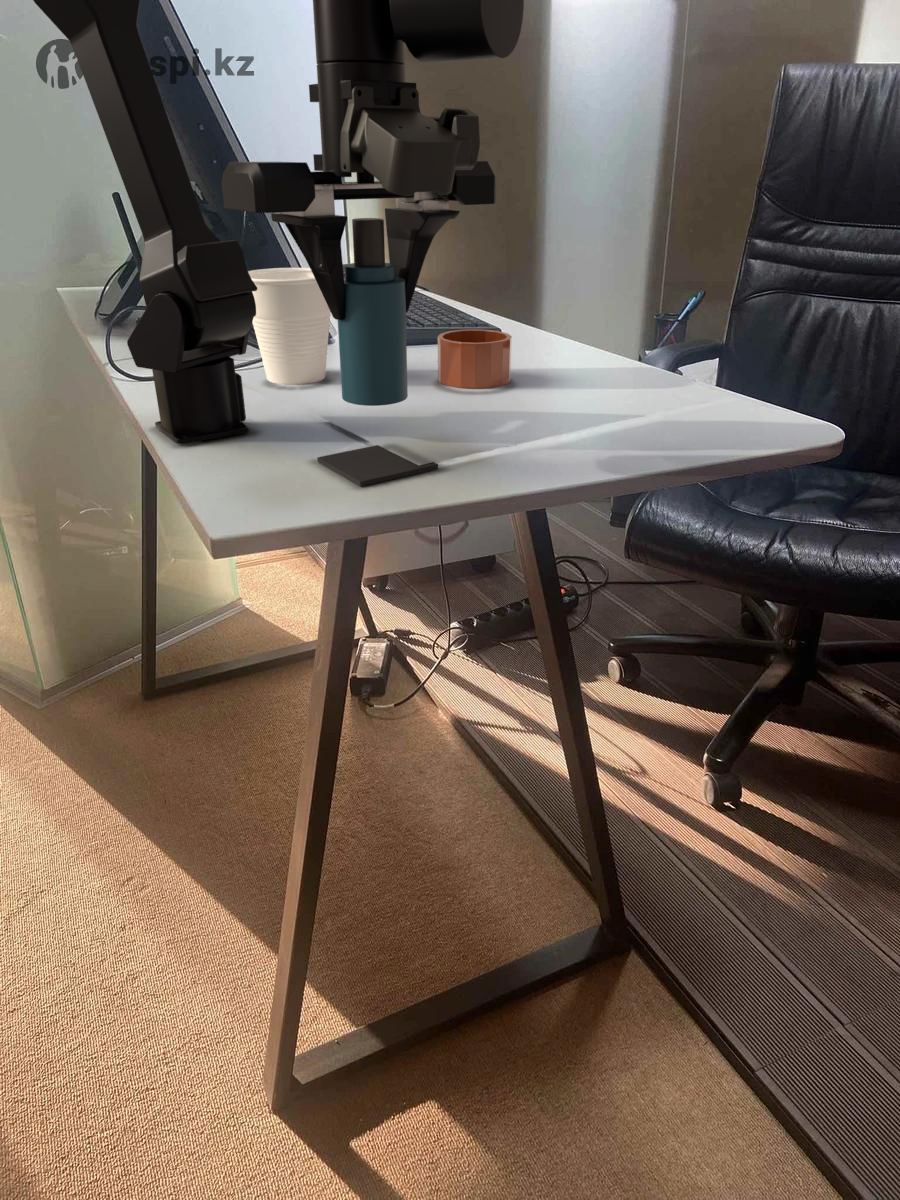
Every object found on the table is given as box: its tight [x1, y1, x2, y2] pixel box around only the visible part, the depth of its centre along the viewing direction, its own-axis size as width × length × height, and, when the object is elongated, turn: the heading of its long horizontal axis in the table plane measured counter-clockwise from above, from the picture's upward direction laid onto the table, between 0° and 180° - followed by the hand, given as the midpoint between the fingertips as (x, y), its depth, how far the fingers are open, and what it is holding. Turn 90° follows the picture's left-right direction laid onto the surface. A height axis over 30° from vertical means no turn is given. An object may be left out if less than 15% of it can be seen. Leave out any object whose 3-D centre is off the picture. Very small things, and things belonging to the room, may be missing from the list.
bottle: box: [337, 217, 408, 407], centre depth 63 cm, size 5×5×12 cm
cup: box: [248, 267, 331, 385], centre depth 90 cm, size 10×10×11 cm
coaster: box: [316, 444, 439, 487], centre depth 68 cm, size 7×7×1 cm
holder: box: [437, 328, 513, 390], centre depth 90 cm, size 8×8×5 cm
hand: (371, 315), depth 63 cm, fingers closed on bottle, 5 cm apart
